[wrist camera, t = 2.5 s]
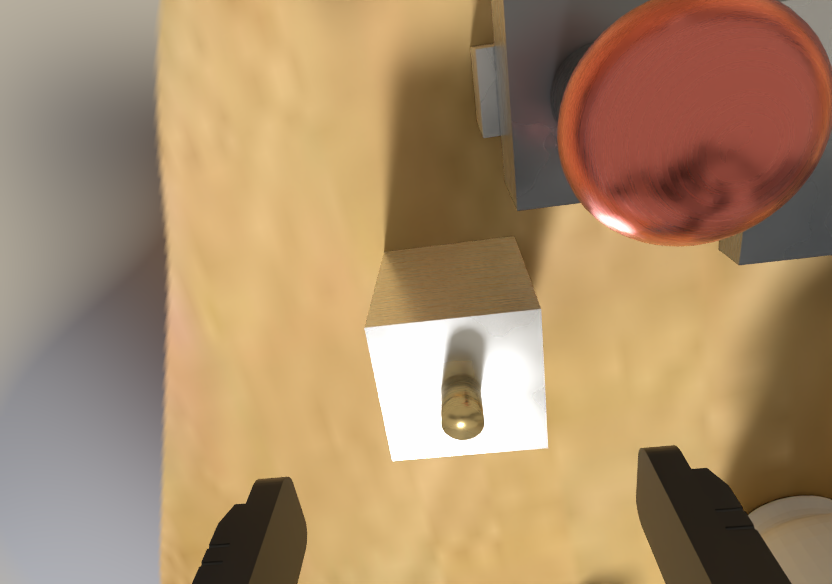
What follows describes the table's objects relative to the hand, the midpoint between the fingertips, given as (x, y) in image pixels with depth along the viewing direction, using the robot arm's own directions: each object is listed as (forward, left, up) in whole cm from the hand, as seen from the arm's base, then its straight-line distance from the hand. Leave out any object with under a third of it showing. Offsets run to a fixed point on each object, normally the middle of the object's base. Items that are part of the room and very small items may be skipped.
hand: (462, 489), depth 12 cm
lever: (-5, -8, -7) cm, 12 cm away
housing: (0, 0, -10) cm, 10 cm away
